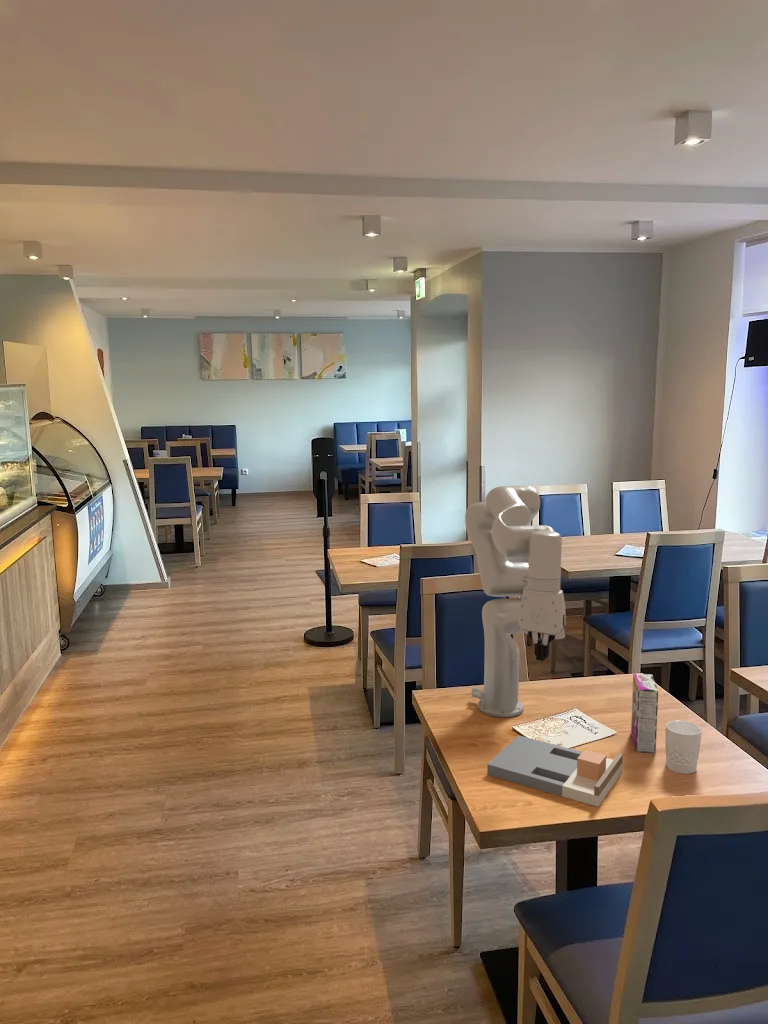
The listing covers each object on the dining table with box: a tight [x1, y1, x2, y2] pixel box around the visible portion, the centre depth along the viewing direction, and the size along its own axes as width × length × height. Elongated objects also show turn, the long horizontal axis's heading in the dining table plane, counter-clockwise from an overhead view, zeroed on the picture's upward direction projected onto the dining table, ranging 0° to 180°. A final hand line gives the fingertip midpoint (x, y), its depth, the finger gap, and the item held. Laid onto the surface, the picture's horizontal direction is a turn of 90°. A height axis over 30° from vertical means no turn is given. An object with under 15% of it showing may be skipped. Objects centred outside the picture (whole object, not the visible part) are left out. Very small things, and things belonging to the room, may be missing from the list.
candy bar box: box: [630, 672, 659, 754], centre depth 189 cm, size 11×5×16 cm, turn 168°
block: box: [577, 749, 607, 781], centre depth 170 cm, size 5×5×4 cm
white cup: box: [664, 719, 702, 775], centre depth 177 cm, size 8×8×10 cm
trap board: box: [486, 735, 624, 808], centre depth 175 cm, size 26×18×4 cm
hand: (541, 658), depth 179 cm, fingers closed
